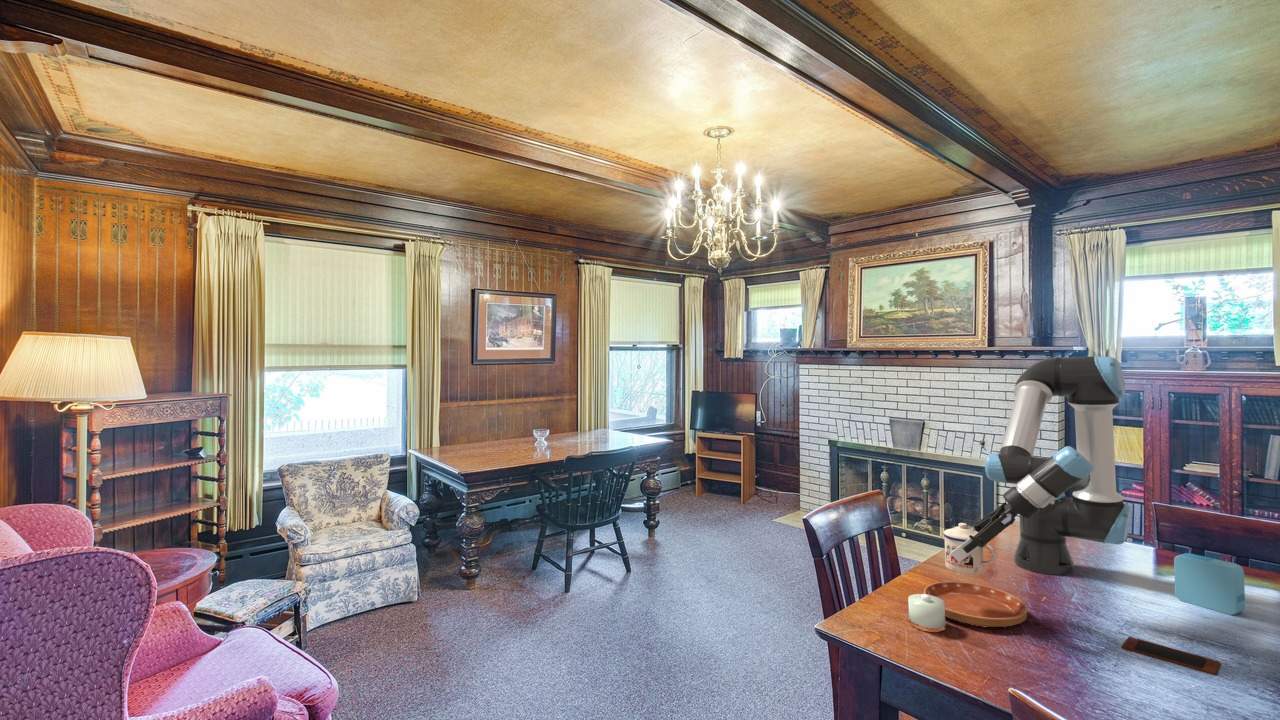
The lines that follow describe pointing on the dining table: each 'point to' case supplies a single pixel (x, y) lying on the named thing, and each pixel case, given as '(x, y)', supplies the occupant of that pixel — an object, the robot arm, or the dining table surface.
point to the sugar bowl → (927, 610)
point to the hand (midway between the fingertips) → (956, 552)
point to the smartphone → (1172, 655)
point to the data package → (1209, 583)
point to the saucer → (978, 604)
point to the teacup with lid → (972, 561)
